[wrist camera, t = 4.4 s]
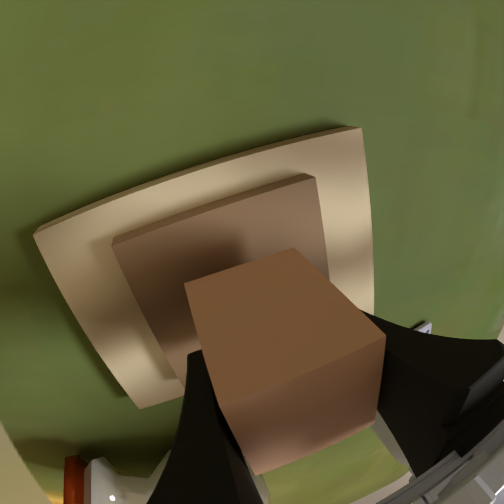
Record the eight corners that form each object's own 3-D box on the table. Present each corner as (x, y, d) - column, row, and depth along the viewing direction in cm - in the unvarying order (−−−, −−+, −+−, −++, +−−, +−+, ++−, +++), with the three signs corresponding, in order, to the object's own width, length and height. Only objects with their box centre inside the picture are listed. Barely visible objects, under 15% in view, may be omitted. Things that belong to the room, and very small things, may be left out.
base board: (363, 306, 21) (382, 324, 19) (138, 395, 18) (140, 421, 16) (347, 125, 16) (373, 129, 14) (39, 226, 13) (25, 243, 11)
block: (305, 331, 15) (374, 423, 10) (214, 364, 14) (255, 475, 9) (293, 246, 13) (385, 335, 8) (183, 283, 12) (218, 405, 7)
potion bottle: (250, 440, 26) (86, 434, 23) (287, 442, 18) (51, 432, 15) (257, 528, 21) (92, 524, 18) (296, 560, 13) (63, 558, 10)
